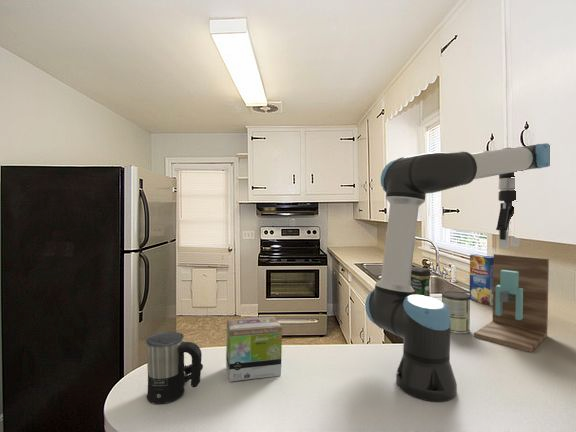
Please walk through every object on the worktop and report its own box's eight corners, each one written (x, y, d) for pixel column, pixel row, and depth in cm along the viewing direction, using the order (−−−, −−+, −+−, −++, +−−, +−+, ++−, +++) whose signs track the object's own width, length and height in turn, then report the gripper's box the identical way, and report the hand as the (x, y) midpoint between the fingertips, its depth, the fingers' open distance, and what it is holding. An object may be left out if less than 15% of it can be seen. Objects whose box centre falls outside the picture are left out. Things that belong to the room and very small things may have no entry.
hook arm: (507, 302, 119) (507, 292, 118) (499, 301, 120) (500, 291, 120) (522, 294, 130) (522, 285, 130) (514, 293, 132) (515, 284, 132)
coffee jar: (406, 302, 171) (406, 266, 170) (416, 300, 175) (416, 265, 175) (423, 307, 162) (423, 269, 162) (432, 305, 167) (433, 268, 166)
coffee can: (437, 324, 139) (438, 290, 139) (463, 325, 138) (463, 291, 138) (446, 333, 129) (447, 297, 128) (474, 334, 128) (475, 298, 127)
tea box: (229, 383, 91) (229, 330, 90) (225, 367, 100) (226, 318, 100) (282, 376, 95) (282, 325, 94) (274, 361, 104) (274, 314, 104)
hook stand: (531, 352, 112) (533, 265, 111) (473, 336, 125) (475, 258, 125) (547, 336, 126) (548, 258, 125) (494, 323, 140) (495, 253, 139)
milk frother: (143, 407, 80) (142, 346, 79) (151, 376, 95) (151, 324, 95) (204, 399, 84) (203, 340, 83) (202, 369, 99) (202, 320, 98)
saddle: (520, 320, 119) (521, 273, 119) (495, 314, 125) (495, 270, 125) (522, 318, 121) (523, 272, 121) (497, 313, 127) (498, 269, 127)
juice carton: (500, 304, 169) (501, 257, 168) (489, 305, 166) (490, 257, 166) (479, 298, 180) (480, 254, 180) (469, 299, 178) (469, 254, 177)
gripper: (511, 188, 111) (510, 251, 112) (532, 191, 128) (530, 246, 128) (487, 189, 117) (486, 248, 118) (509, 192, 134) (508, 244, 134)
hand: (509, 247), depth 123 cm, fingers open, 13 cm apart
